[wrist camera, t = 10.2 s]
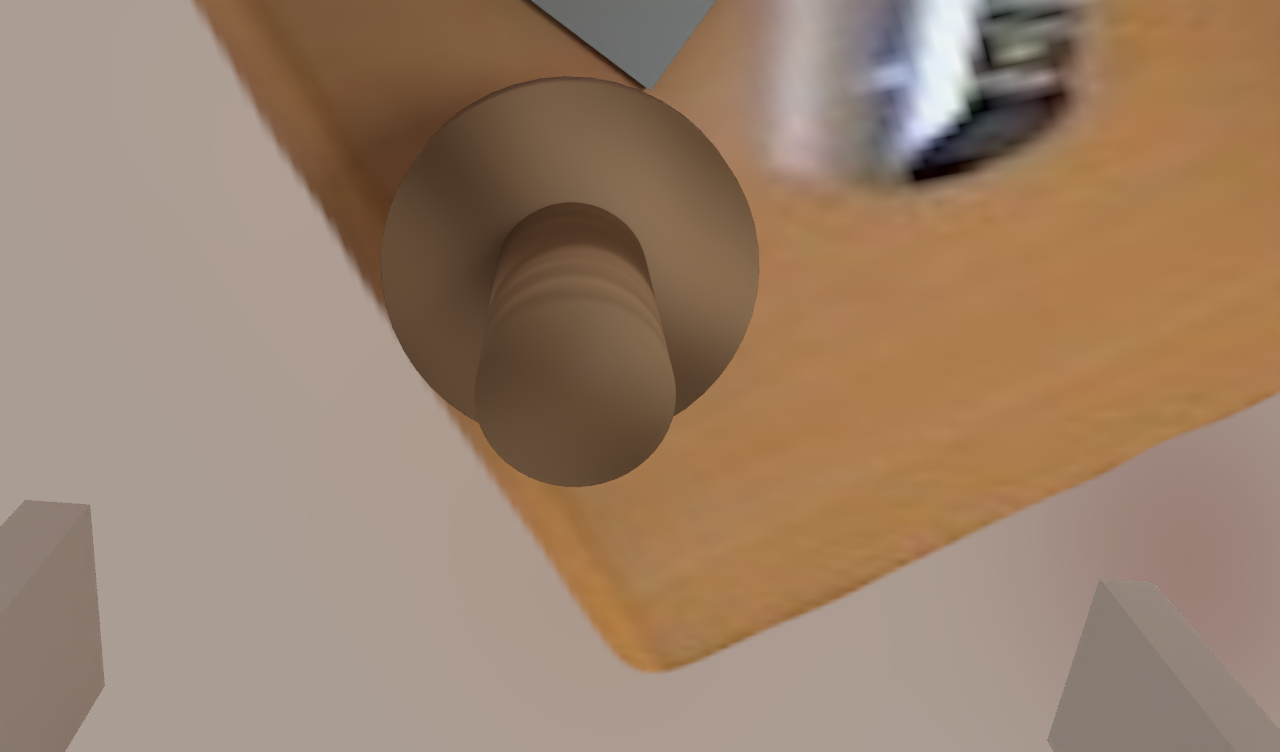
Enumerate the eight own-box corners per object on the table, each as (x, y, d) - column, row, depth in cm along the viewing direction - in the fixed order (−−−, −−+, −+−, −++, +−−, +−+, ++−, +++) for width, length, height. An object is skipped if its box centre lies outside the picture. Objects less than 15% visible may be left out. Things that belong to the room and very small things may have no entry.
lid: (525, -6, 28) (509, 30, 19) (825, 223, 31) (926, 342, 22) (317, 302, 30) (223, 452, 22) (610, 487, 33) (627, 683, 25)
